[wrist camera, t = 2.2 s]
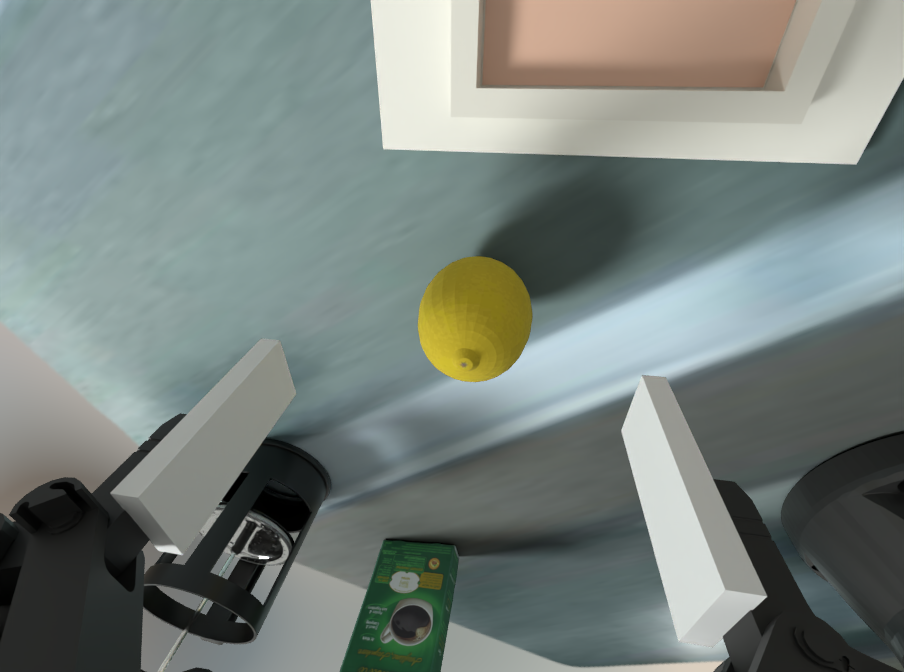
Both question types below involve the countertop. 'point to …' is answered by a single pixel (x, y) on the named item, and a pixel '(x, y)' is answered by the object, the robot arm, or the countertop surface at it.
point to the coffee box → (405, 610)
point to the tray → (638, 76)
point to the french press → (241, 549)
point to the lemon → (475, 319)
